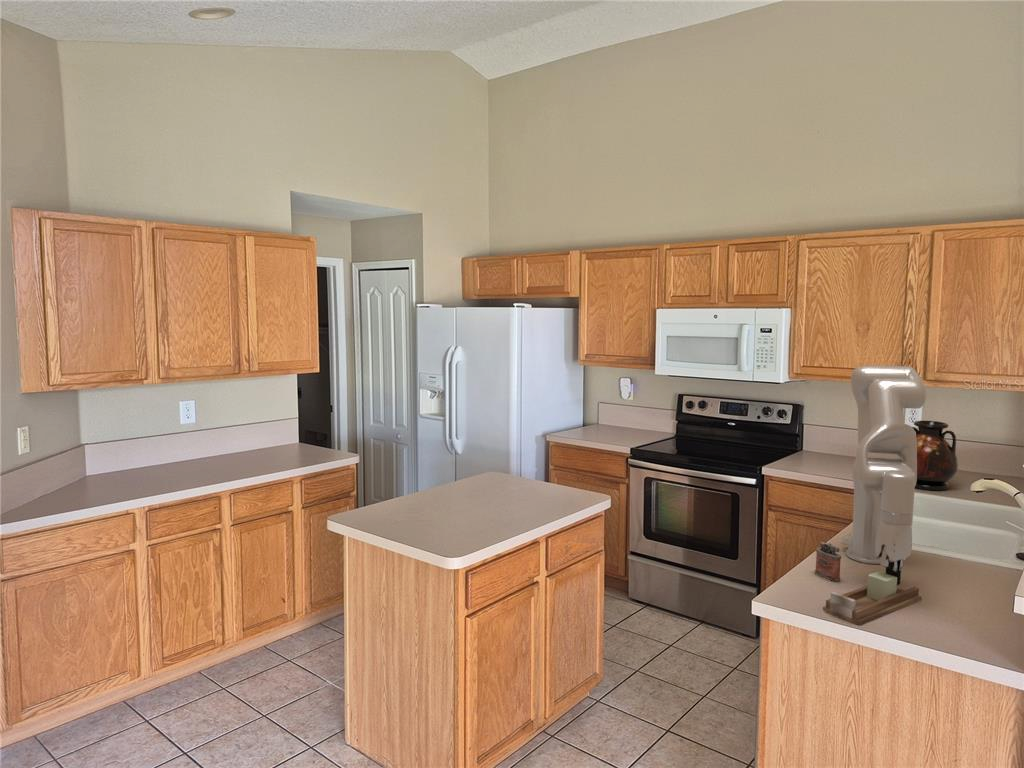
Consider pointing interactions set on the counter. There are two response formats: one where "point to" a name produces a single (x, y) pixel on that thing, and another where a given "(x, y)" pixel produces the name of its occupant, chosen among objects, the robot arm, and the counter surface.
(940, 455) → the amphora vase
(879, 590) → the block
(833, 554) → the lighter
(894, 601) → the chute
